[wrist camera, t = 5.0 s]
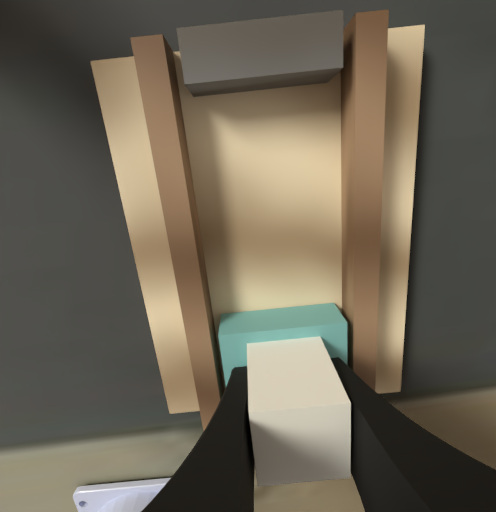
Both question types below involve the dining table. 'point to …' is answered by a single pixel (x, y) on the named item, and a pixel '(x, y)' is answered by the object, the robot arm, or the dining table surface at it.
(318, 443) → the slider
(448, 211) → the dining table surface
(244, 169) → the track
